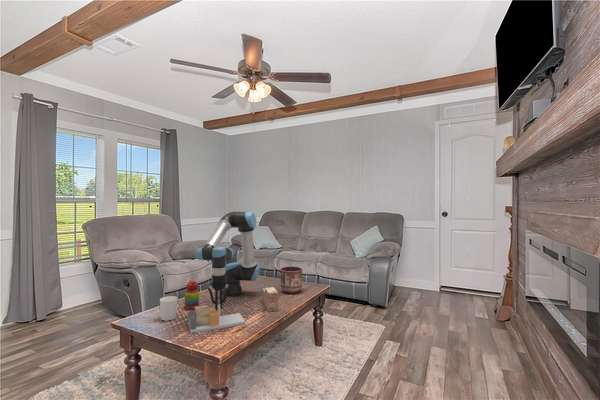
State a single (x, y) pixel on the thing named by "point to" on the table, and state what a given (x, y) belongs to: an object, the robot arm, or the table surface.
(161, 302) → the candle holder
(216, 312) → the block
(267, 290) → the stack of blocks
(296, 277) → the pottery
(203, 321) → the maple block
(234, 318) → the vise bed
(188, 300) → the stacking bear
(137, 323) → the table surface
